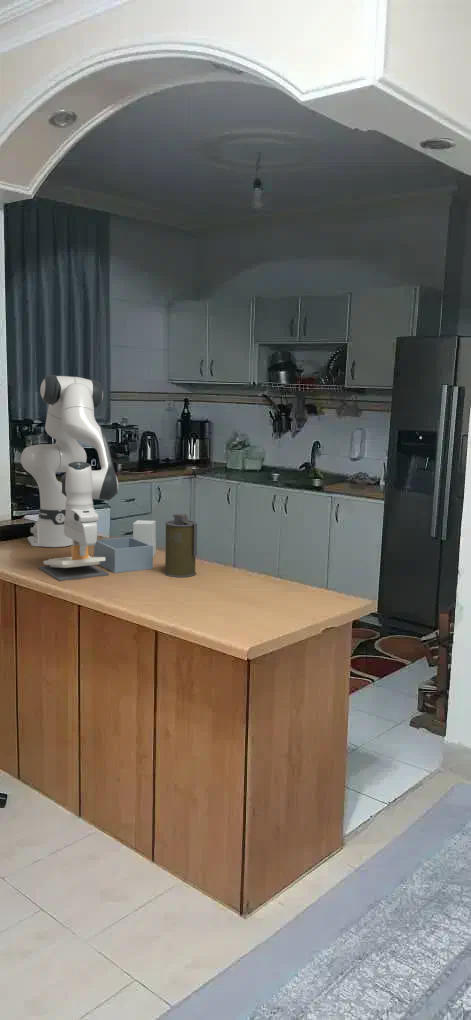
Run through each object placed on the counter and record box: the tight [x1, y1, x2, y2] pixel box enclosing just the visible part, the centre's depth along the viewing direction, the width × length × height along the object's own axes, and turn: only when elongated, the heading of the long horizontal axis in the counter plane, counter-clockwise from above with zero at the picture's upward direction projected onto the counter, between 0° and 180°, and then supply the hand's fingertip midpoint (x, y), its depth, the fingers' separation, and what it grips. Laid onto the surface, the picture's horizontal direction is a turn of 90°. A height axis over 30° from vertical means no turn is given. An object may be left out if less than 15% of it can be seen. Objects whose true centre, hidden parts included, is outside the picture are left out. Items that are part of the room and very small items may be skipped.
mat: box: [38, 564, 110, 582], centre depth 264 cm, size 20×17×1 cm
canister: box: [164, 513, 198, 578], centre depth 263 cm, size 11×10×20 cm
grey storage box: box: [93, 536, 154, 574], centre depth 274 cm, size 18×14×8 cm
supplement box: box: [132, 519, 157, 557], centre depth 291 cm, size 7×7×13 cm
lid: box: [43, 545, 105, 568], centre depth 263 cm, size 19×15×7 cm
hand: (79, 554), depth 258 cm, fingers closed on lid, 2 cm apart
